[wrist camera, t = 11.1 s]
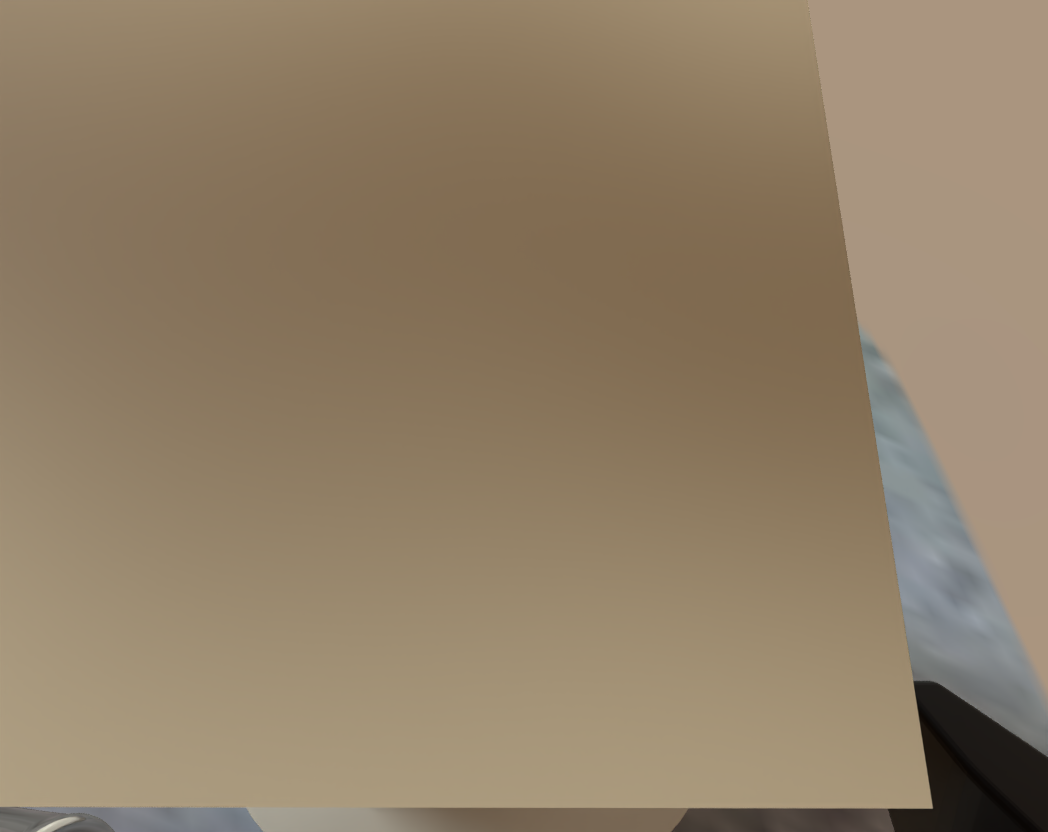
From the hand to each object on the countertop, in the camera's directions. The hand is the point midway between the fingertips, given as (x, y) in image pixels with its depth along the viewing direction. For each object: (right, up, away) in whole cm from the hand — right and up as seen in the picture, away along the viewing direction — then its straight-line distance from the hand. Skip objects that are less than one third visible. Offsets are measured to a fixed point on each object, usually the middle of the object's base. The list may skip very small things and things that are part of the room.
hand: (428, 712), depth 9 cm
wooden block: (0, -1, +8) cm, 8 cm away
